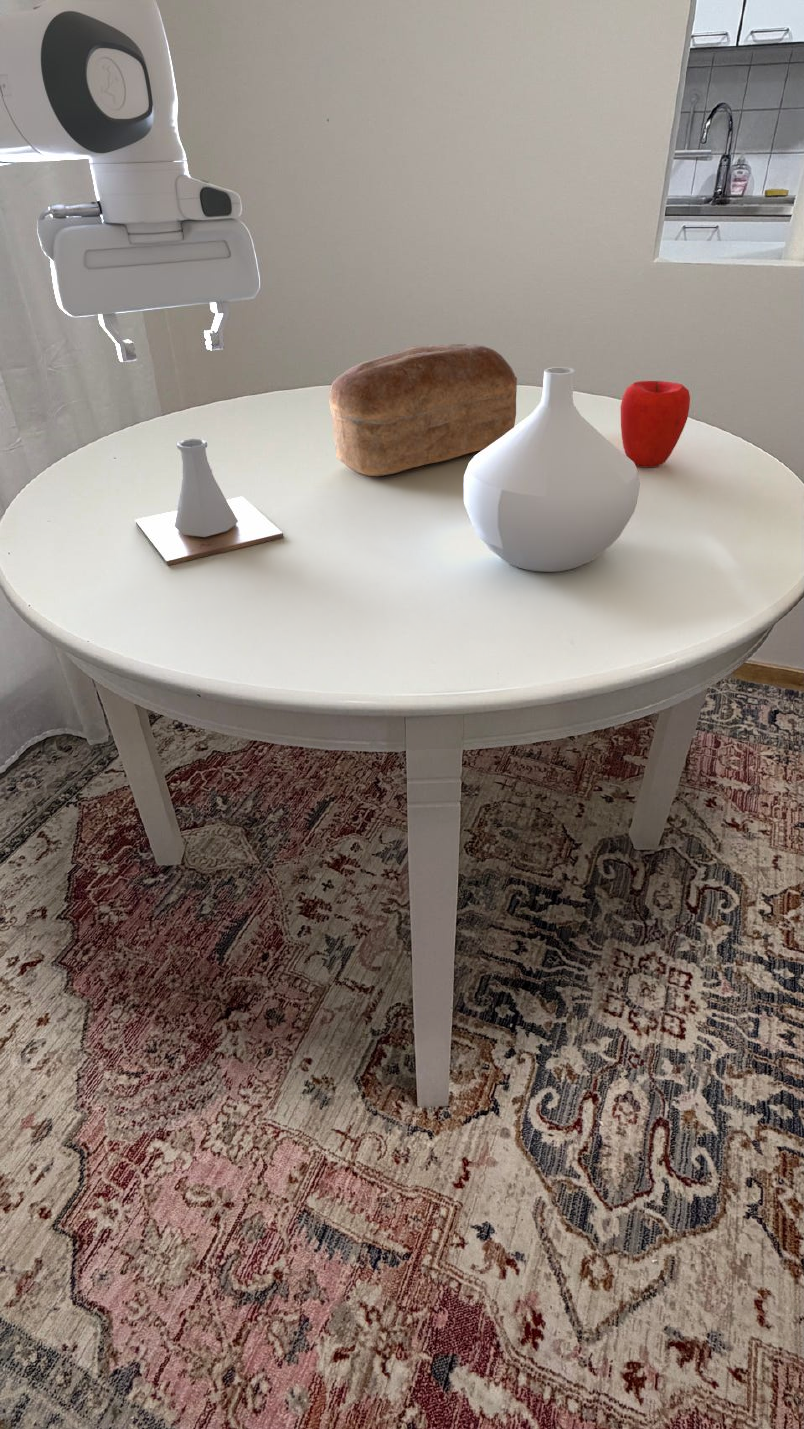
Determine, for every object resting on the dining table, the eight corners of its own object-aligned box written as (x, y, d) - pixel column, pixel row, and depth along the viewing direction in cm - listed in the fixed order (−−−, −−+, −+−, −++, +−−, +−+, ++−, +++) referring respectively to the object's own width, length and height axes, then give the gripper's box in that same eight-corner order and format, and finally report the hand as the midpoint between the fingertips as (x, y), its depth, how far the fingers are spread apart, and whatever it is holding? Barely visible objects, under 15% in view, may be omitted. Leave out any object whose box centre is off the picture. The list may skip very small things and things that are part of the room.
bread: (322, 465, 115) (313, 358, 106) (476, 428, 127) (478, 329, 118) (366, 488, 106) (360, 375, 98) (526, 446, 119) (532, 342, 110)
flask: (204, 543, 92) (188, 457, 86) (163, 529, 96) (145, 446, 90) (249, 523, 97) (237, 439, 91) (209, 510, 100) (194, 429, 94)
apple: (673, 452, 114) (687, 372, 108) (684, 473, 107) (700, 389, 101) (610, 452, 115) (620, 373, 109) (617, 473, 108) (628, 390, 102)
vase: (662, 574, 84) (696, 382, 72) (501, 603, 79) (511, 405, 68) (579, 511, 98) (597, 343, 87) (438, 534, 94) (438, 360, 82)
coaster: (167, 565, 89) (166, 560, 89) (136, 524, 99) (135, 519, 99) (284, 537, 94) (283, 533, 94) (243, 501, 104) (242, 496, 104)
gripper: (36, 206, 70) (77, 373, 78) (256, 195, 78) (272, 348, 86) (25, 204, 74) (65, 362, 82) (234, 193, 82) (252, 338, 90)
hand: (172, 354), depth 84 cm, fingers open, 8 cm apart
